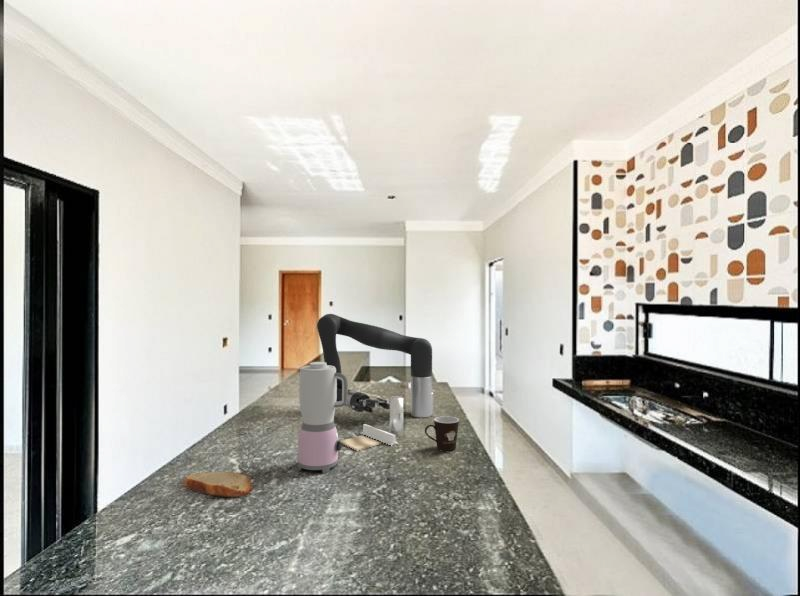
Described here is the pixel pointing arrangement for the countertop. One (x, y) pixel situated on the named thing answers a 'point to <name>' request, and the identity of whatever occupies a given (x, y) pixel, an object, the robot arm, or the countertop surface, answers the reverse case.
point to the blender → (319, 416)
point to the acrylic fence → (379, 435)
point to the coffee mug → (445, 432)
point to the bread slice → (220, 484)
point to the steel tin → (396, 415)
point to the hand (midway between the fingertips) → (380, 408)
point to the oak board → (359, 442)
